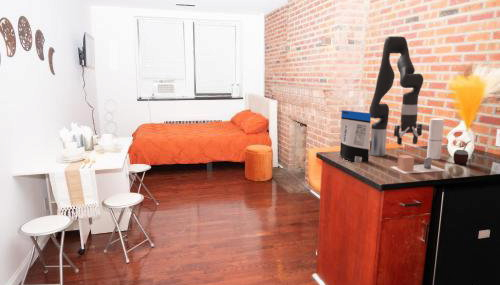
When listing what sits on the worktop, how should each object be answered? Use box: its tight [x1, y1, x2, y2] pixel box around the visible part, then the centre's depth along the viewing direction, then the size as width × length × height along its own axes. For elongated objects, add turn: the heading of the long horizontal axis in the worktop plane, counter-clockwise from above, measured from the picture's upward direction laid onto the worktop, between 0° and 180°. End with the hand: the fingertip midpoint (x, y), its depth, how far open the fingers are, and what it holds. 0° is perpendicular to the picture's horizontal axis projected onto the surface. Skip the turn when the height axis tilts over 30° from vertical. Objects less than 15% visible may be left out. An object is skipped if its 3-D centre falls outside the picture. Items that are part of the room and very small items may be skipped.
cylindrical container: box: [426, 117, 445, 160], centre depth 193 cm, size 7×7×25 cm
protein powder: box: [339, 109, 372, 163], centre depth 196 cm, size 10×24×30 cm, turn 25°
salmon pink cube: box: [397, 154, 415, 171], centre depth 171 cm, size 6×6×7 cm
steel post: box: [423, 156, 433, 169], centre depth 173 cm, size 3×3×6 cm
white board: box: [390, 164, 447, 174], centre depth 173 cm, size 24×13×2 cm, turn 99°
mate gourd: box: [453, 140, 471, 166], centre depth 183 cm, size 8×8×15 cm
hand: (407, 144), depth 169 cm, fingers open, 8 cm apart
